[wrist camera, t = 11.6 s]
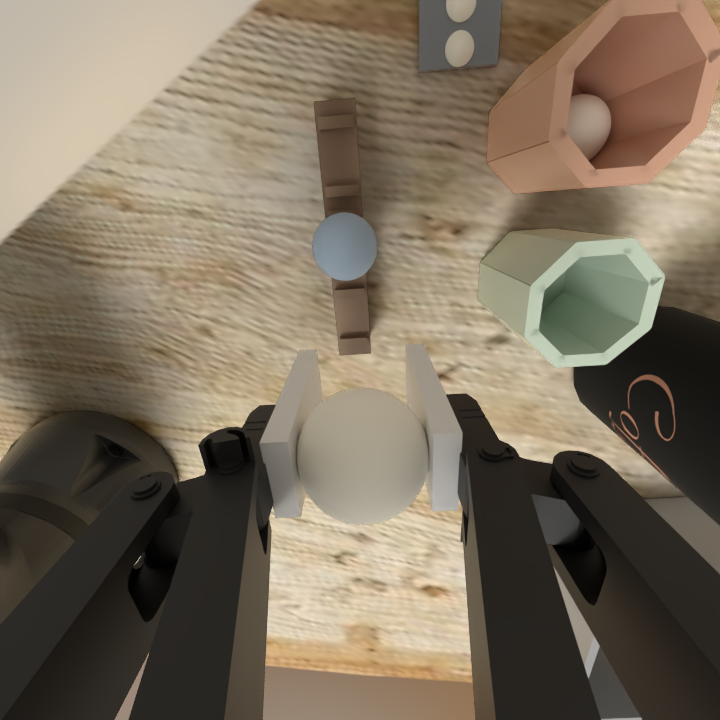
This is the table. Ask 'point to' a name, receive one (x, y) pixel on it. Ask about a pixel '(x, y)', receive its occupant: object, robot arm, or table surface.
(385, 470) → the cream ball
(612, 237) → the tubes
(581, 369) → the coffee jar
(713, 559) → the box
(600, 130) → the cream ball
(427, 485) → the robot arm
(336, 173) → the rack
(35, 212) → the table surface
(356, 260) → the blue ball
